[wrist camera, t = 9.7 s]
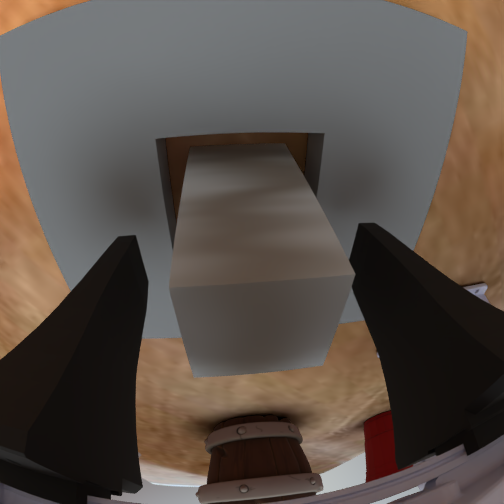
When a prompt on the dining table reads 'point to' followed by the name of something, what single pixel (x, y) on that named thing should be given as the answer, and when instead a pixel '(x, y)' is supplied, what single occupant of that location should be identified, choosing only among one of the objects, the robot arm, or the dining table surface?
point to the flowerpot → (257, 463)
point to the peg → (254, 264)
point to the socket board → (225, 115)
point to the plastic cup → (380, 447)
